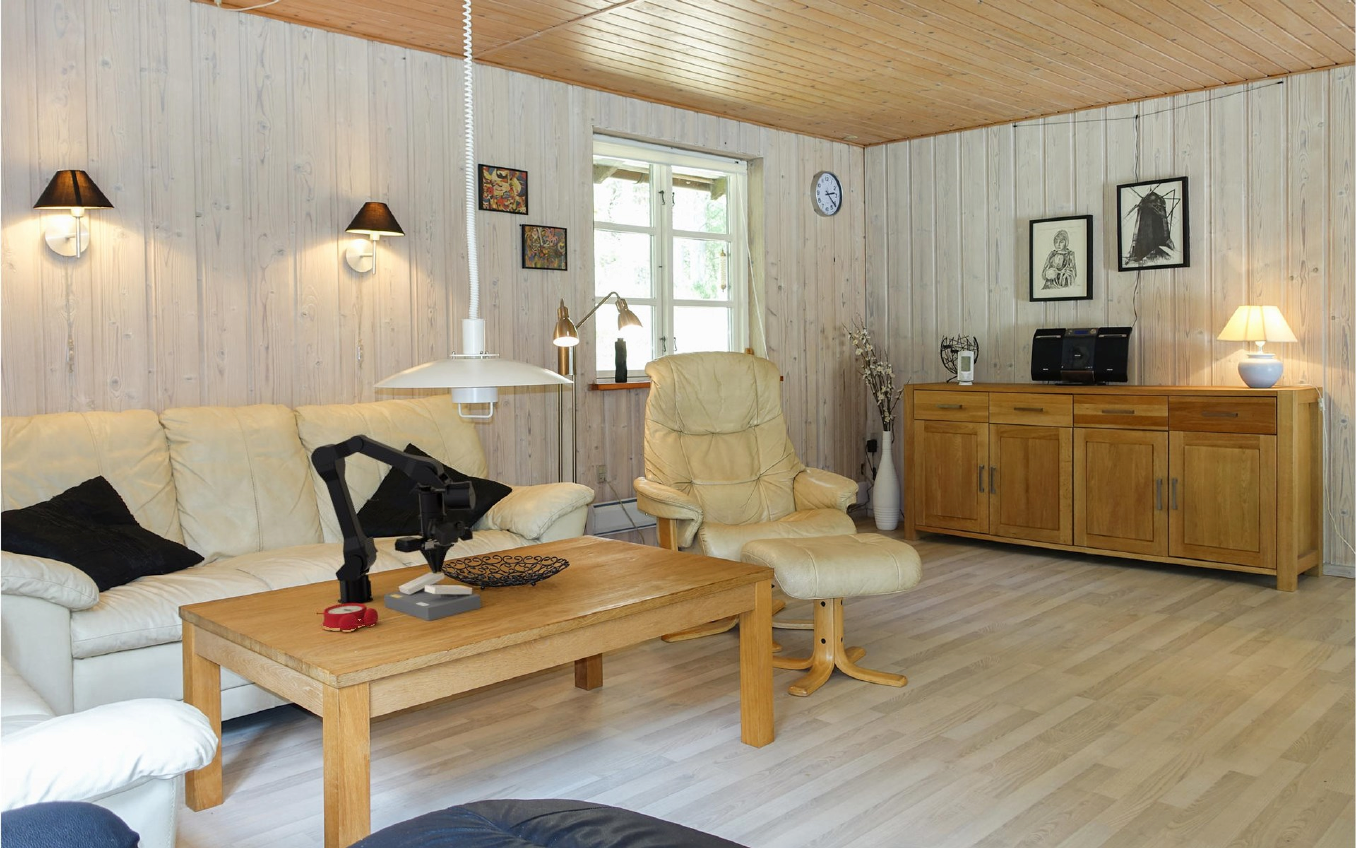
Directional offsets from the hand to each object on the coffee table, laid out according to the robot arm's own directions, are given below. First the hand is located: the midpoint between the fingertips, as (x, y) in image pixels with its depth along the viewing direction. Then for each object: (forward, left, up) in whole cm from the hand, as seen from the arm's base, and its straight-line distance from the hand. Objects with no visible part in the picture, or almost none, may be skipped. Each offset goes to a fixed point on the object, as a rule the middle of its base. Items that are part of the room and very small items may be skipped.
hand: (437, 573), depth 250 cm
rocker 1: (-4, 0, -1) cm, 4 cm away
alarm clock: (-26, -5, -7) cm, 27 cm away
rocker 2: (-4, -12, -1) cm, 13 cm away
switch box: (-5, -6, -6) cm, 10 cm away
